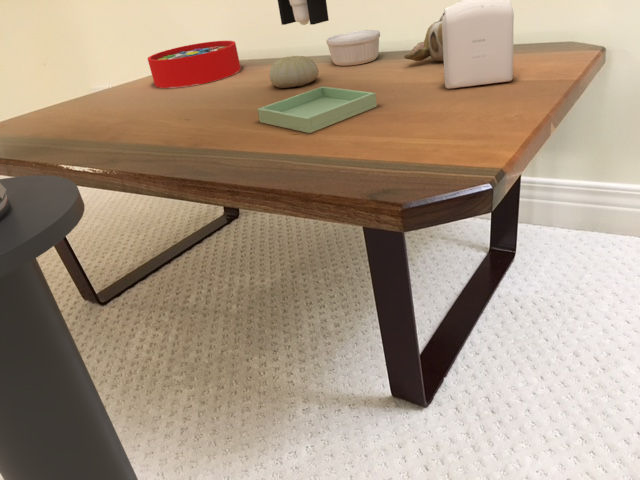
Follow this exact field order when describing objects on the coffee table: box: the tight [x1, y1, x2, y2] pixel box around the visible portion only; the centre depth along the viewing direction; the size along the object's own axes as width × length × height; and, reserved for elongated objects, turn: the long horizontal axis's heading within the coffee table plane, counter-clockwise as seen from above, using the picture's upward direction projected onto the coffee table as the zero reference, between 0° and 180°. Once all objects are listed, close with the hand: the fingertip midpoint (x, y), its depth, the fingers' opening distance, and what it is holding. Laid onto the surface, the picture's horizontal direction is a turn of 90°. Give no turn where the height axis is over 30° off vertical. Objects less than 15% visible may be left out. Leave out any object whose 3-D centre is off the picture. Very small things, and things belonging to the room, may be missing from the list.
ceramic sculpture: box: [403, 12, 444, 62], centre depth 100 cm, size 11×9×15 cm
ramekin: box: [325, 29, 381, 67], centre depth 113 cm, size 11×11×5 cm
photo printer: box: [442, 0, 515, 90], centre depth 81 cm, size 10×4×12 cm, turn 82°
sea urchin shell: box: [269, 55, 320, 89], centre depth 102 cm, size 9×8×8 cm
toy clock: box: [147, 40, 242, 89], centre depth 124 cm, size 20×6×20 cm
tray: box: [257, 86, 378, 134], centre depth 81 cm, size 13×12×2 cm
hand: (304, 22), depth 76 cm, fingers closed on lightbulb, 6 cm apart
